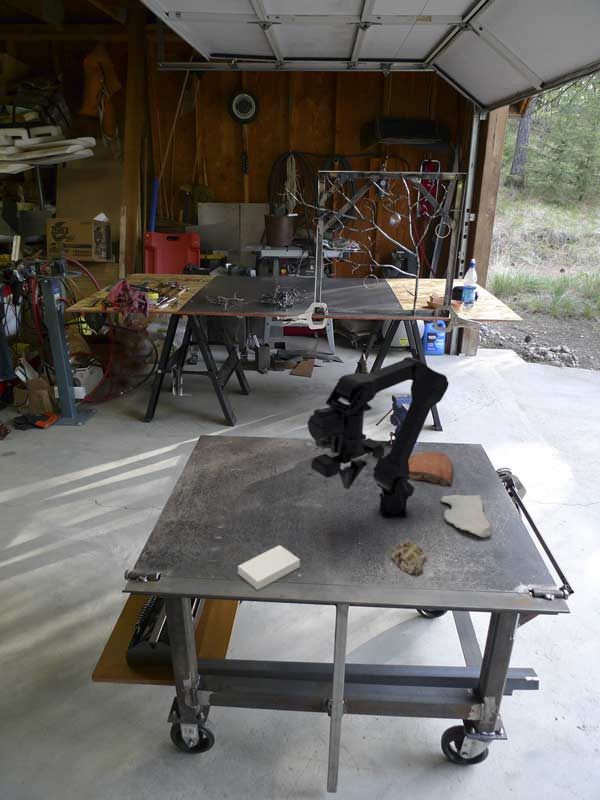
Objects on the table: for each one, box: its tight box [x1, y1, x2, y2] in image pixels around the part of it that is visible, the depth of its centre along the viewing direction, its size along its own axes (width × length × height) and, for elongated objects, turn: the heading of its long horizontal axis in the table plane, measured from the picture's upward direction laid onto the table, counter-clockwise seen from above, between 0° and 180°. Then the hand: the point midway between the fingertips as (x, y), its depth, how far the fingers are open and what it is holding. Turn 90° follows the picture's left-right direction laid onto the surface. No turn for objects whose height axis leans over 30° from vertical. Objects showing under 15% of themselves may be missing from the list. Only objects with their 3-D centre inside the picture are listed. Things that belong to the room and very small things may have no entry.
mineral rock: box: [390, 539, 427, 577], centre depth 138 cm, size 11×4×8 cm
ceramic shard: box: [408, 452, 453, 487], centre depth 177 cm, size 15×6×15 cm
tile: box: [237, 545, 301, 591], centre depth 134 cm, size 2×7×12 cm
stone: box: [440, 494, 492, 538], centre depth 155 cm, size 13×4×20 cm
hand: (346, 488), depth 145 cm, fingers closed
